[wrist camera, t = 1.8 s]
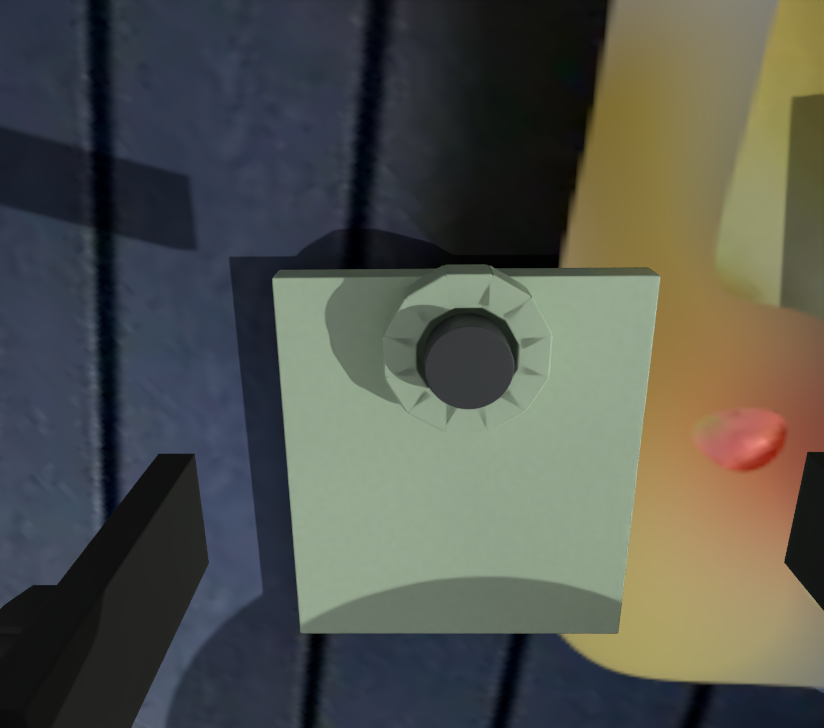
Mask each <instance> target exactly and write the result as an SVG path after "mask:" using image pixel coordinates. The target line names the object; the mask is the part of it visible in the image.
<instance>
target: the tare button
mask: <svg viewBox="0 0 824 728" xmlns="http://www.w3.org/2000/svg"><path fill="white" fill-rule="evenodd" d="M424 365H425V376H426V380H427V383H428V385H429V387H430V389H431V391H432V392H433V393H434V394H435V395H436V397H437V398H439V399H440V400H441V401H442V402H444V403H446V404H448V405H450V406H452V407H455V408H460V409H477V408H482V407H485V406H487V405H489V404H491V403H493V402H495V401H496V400H497V399H499V398H500V397H501V396H502V395H503V394H504V393H505V392H506V390H507V389H508V387H509V385H510V384H511V381H512V378H513V375H514V358H513V354H512V351H511V349H510V346H509V344H508V341H507V339H506V336H505V334H504V333H503V331H502V330H501V328H500V327H499V326H498V325H497V324H496V323H495V322H493V321H492V320H490V319H489V318H487V317H485V316H482V315H479V314H473V313H462V314H457V315H454V316H451V317H449V318H446V319H445V320H443V321H442V322H440V323H439V324H438V325H437V326H436V327H435V328H434V329H433V330H432V332H431V333H430V335H429V337H428V339H427V342H426V345H425V351H424Z"/></svg>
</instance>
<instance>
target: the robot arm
mask: <svg viewBox="0 0 824 728" xmlns="http://www.w3.org/2000/svg"><path fill="white" fill-rule="evenodd" d="M784 563H785V564H786V565H787V566H788V567H789V569H790V570H791V571H792V572H793V574H794V575H795V576H796V577H797V579H798V580H799V581H800V582H801V583H802V585H803V586H804V587H805V588H806V590H807V591H808V592H809V593H810V594H811V596H812V597H813V598H814V599H815V601H816V602H817V603H818V604H819V605H820V607H821V608H822V609H823V610H824V452H807V458H806V462H805V467H804V471H803V476H802V481H801V486H800V491H799V495H798V500H797V505H796V509H795V514H794V519H793V523H792V528H791V533H790V538H789V542H788V547H787V552H786V556H785V562H784ZM208 564H209V560H208V553H207V545H206V537H205V530H204V522H203V514H202V507H201V499H200V491H199V484H198V476H197V469H196V461H195V454H158V455H157V457H156V458H155V459H154V461H153V462H152V463H151V464H150V466H149V467H148V468H147V470H146V471H145V472H144V473H143V475H142V476H141V477H140V479H139V480H138V481H137V483H136V484H135V485H134V486H133V488H132V489H131V490H130V492H129V493H128V494H127V495H126V497H125V498H124V499H123V501H122V502H121V503H120V504H119V506H118V507H117V508H116V510H115V511H114V512H113V513H112V515H111V516H110V517H109V519H108V520H107V521H106V523H105V524H104V525H103V526H102V528H101V529H100V530H99V532H98V533H97V534H96V535H95V537H94V538H93V539H92V541H91V542H90V543H89V544H88V546H87V547H86V548H85V550H84V551H83V552H82V554H81V555H80V556H79V557H78V559H77V560H76V561H75V563H74V564H73V565H72V566H71V568H70V569H69V570H68V572H67V573H66V574H65V575H64V577H63V578H62V579H61V581H60V582H59V583H58V585H33V586H31V587H30V588H28V589H27V590H25V591H24V592H23V593H21V594H20V595H18V596H17V597H15V598H14V599H12V600H11V601H10V602H8V603H7V604H5V605H4V606H3V607H2V608H1V609H0V728H131V727H132V724H133V722H134V720H135V718H136V716H137V714H138V712H139V710H140V708H141V705H142V703H143V701H144V699H145V697H146V695H147V693H148V691H149V688H150V686H151V684H152V682H153V680H154V678H155V676H156V674H157V672H158V669H159V667H160V665H161V663H162V661H163V659H164V657H165V655H166V652H167V650H168V648H169V646H170V644H171V642H172V640H173V638H174V636H175V633H176V631H177V629H178V627H179V625H180V623H181V621H182V619H183V616H184V614H185V612H186V610H187V608H188V606H189V604H190V602H191V600H192V597H193V595H194V593H195V591H196V589H197V587H198V585H199V583H200V580H201V578H202V576H203V574H204V572H205V570H206V568H207V566H208Z"/></svg>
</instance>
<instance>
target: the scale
mask: <svg viewBox="0 0 824 728" xmlns="http://www.w3.org/2000/svg"><path fill="white" fill-rule="evenodd" d="M659 285H660V275H659V274H657V273H655V272H654V271H653V270H651V269H650V268H493V267H492V266H489V265H486V264H481V265H444V266H441V267H439V268H437V269H330V270H279V271H278V272H277V273H276V274H275V275H274V277H273V278H272V286H273V298H274V311H275V323H276V336H277V348H278V361H279V373H280V385H281V398H282V410H283V423H284V435H285V447H286V460H287V472H288V485H289V497H290V510H291V522H292V534H293V547H294V559H295V572H296V584H297V596H298V609H299V621H300V632H301V633H594V634H604V633H605V634H606V633H607V634H612V633H616V634H617V633H618V630H619V621H620V613H621V605H622V596H623V588H624V579H625V571H626V562H627V554H628V546H629V538H630V529H631V520H632V512H633V504H634V496H635V487H636V478H637V470H638V462H639V453H640V445H641V436H642V427H643V420H644V411H645V403H646V394H647V386H648V378H649V369H650V361H651V352H652V344H653V335H654V327H655V319H656V310H657V301H658V292H659ZM462 313H473V314H479V315H482V316H485V317H487V318H489V319H490V320H492V321H493V322H495V323H496V324H497V325H498V326H499V327H500V328H501V330H502V331H503V333H504V334H505V336H506V339H507V341H508V344H509V346H510V349H511V351H512V354H513V358H514V375H513V378H512V381H511V384H510V385H509V387H508V389H507V390H506V392H505V393H504V394H503V395H502V396H501V397H500V398H499V399H497V400H496V401H495V402H493V403H491V404H489V405H487V406H485V407H482V408H477V409H460V408H455V407H452V406H450V405H448V404H446V403H444V402H442V401H441V400H440V399H439V398H437V397H436V395H435V394H434V393H433V392H432V391H431V389H430V387H429V385H428V383H427V380H426V376H425V365H424V351H425V345H426V342H427V339H428V337H429V335H430V333H431V332H432V330H433V329H434V328H435V327H436V326H437V325H438V324H439V323H440V322H442V321H443V320H445V319H446V318H449V317H451V316H454V315H457V314H462Z"/></svg>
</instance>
